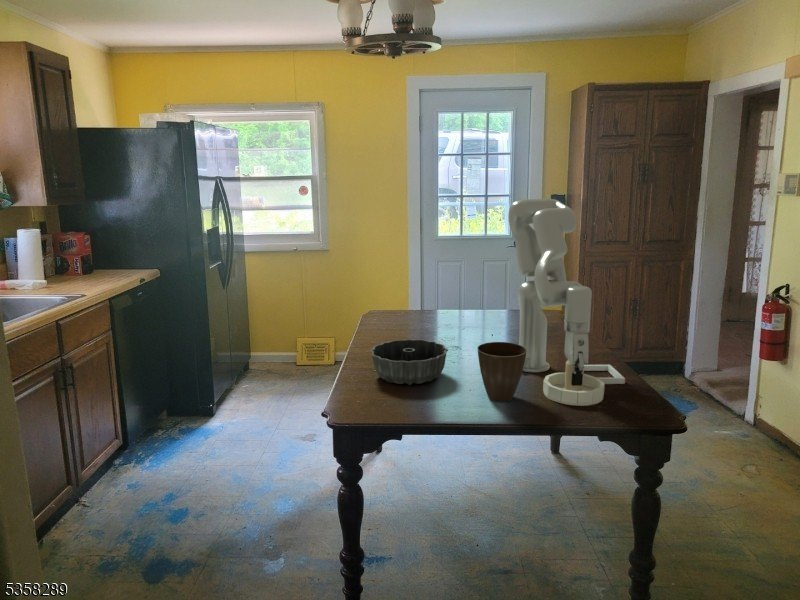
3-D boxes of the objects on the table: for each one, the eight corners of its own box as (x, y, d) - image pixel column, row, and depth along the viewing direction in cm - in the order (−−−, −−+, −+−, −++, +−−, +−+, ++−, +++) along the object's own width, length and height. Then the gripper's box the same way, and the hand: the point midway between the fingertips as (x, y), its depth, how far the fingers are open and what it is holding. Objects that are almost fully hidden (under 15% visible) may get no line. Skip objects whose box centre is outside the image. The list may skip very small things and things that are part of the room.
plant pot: (534, 397, 182) (536, 348, 179) (506, 411, 172) (507, 359, 169) (495, 385, 192) (496, 339, 189) (466, 397, 182) (467, 348, 179)
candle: (579, 385, 187) (581, 355, 184) (585, 391, 181) (587, 361, 179) (562, 385, 186) (563, 355, 184) (567, 392, 181) (569, 361, 179)
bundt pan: (357, 384, 196) (356, 355, 194) (390, 361, 219) (390, 335, 217) (430, 395, 185) (430, 365, 183) (457, 370, 209) (457, 343, 206)
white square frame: (624, 383, 193) (625, 378, 193) (581, 384, 193) (581, 378, 193) (609, 369, 207) (609, 364, 207) (569, 369, 207) (569, 364, 207)
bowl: (578, 410, 172) (579, 396, 171) (531, 392, 186) (532, 379, 185) (615, 396, 182) (616, 383, 181) (568, 380, 196) (568, 368, 195)
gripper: (598, 333, 171) (594, 391, 175) (580, 319, 188) (577, 372, 192) (572, 333, 171) (569, 391, 175) (557, 319, 188) (554, 372, 192)
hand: (573, 381), depth 183 cm, fingers closed on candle, 5 cm apart
